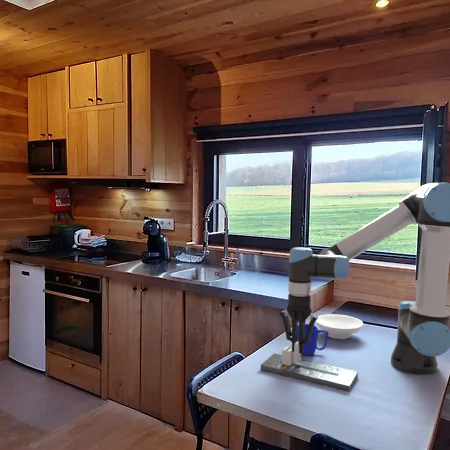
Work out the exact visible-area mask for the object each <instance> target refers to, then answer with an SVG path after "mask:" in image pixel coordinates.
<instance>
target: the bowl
mask: <svg viewBox="0 0 450 450" xmlns="http://www.w3.org/2000/svg"><path fill="white" fill-rule="evenodd" d="M317 316H318V319H317V320H316V322H315V324H316V326H317V328H318V329H319V330H325V331H328V337H329V338H331V339H335V340H336V339H337V340H347V339H349V338H351V337H352V335H353V334H357V333H358V332H360V331H361V329H362V328H363V325H364V323H363V321H362V320H360V319H359V318H356V317H353V316H351V315H350V316H349V315H344V314H333V313H331V314H322V315H317Z"/></svg>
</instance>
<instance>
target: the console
mask: <svg viewBox="0 0 450 450" xmlns="http://www.w3.org/2000/svg"><path fill="white" fill-rule="evenodd" d="M260 371H262V372H266V373H270V374H274V375H277V376H282V377H285V378H289V379H295V380H296V381H297V380H299V381H303V382H305V383H311V384H315V385H319V386H324V387H326V386H327V387H326V388H330V387H331V388H330V389H334V388H335V390H338V389H339V390H338V391H342V390H343V391H342V392H348V393H350V391H351V389H352V388H353V386H354V385H355V383H356V381H357V380H358V378H359V371H357V370H352V369H348V368H343V367H339V366H335V365H329V364H325V363H320V362H316V361H312V360H307V359H304V358H303V359H302V358H301V361H300V362H299V363H293V364H292V365H291V366H288V365H284V364H282V354H280V353H273V354H271V355H270V356H269V357H268V358H267V359H266V360H264V361H263V362H262V363H261V364H260Z"/></svg>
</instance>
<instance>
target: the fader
mask: <svg viewBox="0 0 450 450" xmlns="http://www.w3.org/2000/svg"><path fill="white" fill-rule="evenodd" d="M281 355H282V364H284V365H288V366H291V365H292V364H293V363H294V352H292V346H289V345H287V346H285V347H284V348H283V349H282V351H281Z"/></svg>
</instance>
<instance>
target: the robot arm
mask: <svg viewBox="0 0 450 450" xmlns="http://www.w3.org/2000/svg"><path fill="white" fill-rule="evenodd" d="M410 225H418V226H419V228H420V229H421V240H420V251H419V252H420V253H419V260H418V272H417V281H416V282H417V283H416V292H415V301H414V300H405V301H401V302H399V304H398V309H397V311H398V312H397V314H398V315H397V316H398V317H397V334H396V335H397V336H396V338H397V339H396V344H395V346H394V349H393V351H392V354H391V356H390V365H391V366H393V367H394V368H395V369H397V370H398V371H402V372H405V373H409V374H414V375H426V376H427V375H432V374H435V373H437V371H438V366H439V365H438V360H437V358H436V357H438V356H441V355H443V354H444V353H446V352H448V351H449V350H450V328H449V326H450V312H449V311H448V310H447V308H446V301H447V291H448V281H449V271H450V182H444V181H443V182H429V183H426V184H423V185H421V186H419V188H417V189H415V190H414V191H412V192H411V193H410V194H409V195H407V196H406V197H404V198H403V199H401V200H399V201H398V204H397V206H395V207H393V208H392V209H390V210H389V211H387V212H385V213H384V214H382V215H380V216H378V217H377V218H376V219H374V220H373V221H371V222H369V223H368V224H365V225H364V226H363V227H361V228H359V229H357V230H356V231H355V232H352V233H351V234H349V235H348V236H346V237H345V238H343V239H341V240H340V241H338V242H336V243H335V244H333V245H331V246H329V247H327V248H323V249H322V250H321V251H320V252H319V254H314V253H313V249H311V248H310V247H303V246H302V247H301V246H299V247H292V248H290V251H289V259H288V261H289V262H288V289H287V290H288V294H287V307H286V309H283V310H282V311H280V313H279V314H280V317H281V318H282V323H283V327H284V331H285V332H284V333H285V338H286V340H287V341H289V342H291V347H292V352H294V363H299V362H300V361H301V359H302V353H303V352H304V344H307V343H308V342H309V341H310V338H311V334H312V331H313V327H314V326H315V324H316V320H317V319H318V316H319V315H315V313H313V311H312V309H311V306H312V305H311V303H312V300H311V299H312V298H311V297H312V296H311V295H312V294H311V293H312V278H324V279H325V278H327V279H336V280H340V279H348V278H349V276H350V260H353V259H354V258H356V257H358V256H359V255H361V254H363V253H365V252H366V251H368V250H369V249H371V248H373V247H374V246H376V245H377V244H380V243H381V242H383V241H384V240H386V239H388V238H389V237H391V236H393V235H395V234H396V233H398V232H399V231H402V230H403V229H404V228H406V227H408V226H410ZM289 317H290V318H291V322H290V318H289ZM307 319H309V322H308V324H309V326H308V329H307V333H306V336H305V324H306V321H307ZM298 325H299V342H298V341H297V340H298V339H297V335H298Z"/></svg>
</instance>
